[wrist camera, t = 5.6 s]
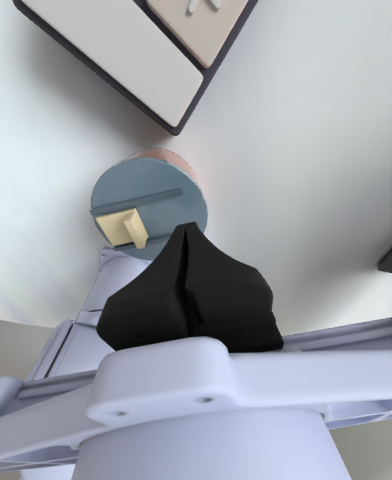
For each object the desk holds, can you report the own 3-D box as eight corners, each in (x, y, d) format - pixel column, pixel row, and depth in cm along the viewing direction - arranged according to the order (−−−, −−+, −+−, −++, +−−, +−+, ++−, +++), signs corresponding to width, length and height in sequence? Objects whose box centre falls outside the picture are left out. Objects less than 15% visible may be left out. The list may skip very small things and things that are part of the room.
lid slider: (135, 207, 14) (130, 218, 12) (148, 236, 15) (145, 248, 14) (97, 216, 14) (87, 228, 12) (114, 243, 15) (107, 257, 14)
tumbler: (190, 134, 17) (196, 144, 11) (206, 217, 22) (215, 253, 17) (99, 156, 17) (58, 178, 12) (137, 232, 23) (122, 272, 17)
